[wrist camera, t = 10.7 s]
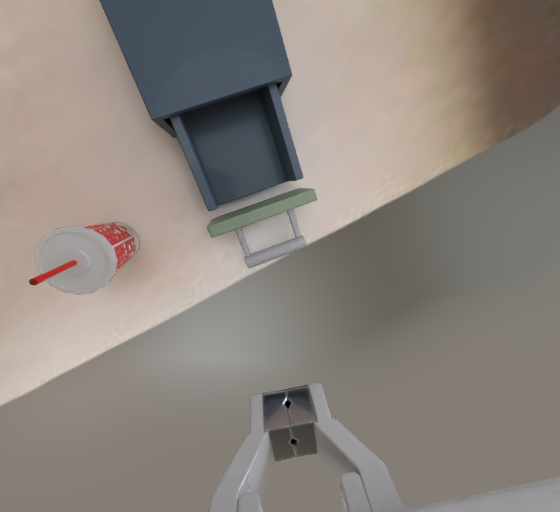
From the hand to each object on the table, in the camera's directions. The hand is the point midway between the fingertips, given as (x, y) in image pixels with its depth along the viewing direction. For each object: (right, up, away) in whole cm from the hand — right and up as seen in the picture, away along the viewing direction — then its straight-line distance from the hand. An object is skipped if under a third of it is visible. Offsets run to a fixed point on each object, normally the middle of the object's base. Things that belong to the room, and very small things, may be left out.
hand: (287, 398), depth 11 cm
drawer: (-4, +15, +20) cm, 26 cm away
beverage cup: (-20, +8, +20) cm, 29 cm away
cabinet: (-9, +28, +17) cm, 34 cm away
